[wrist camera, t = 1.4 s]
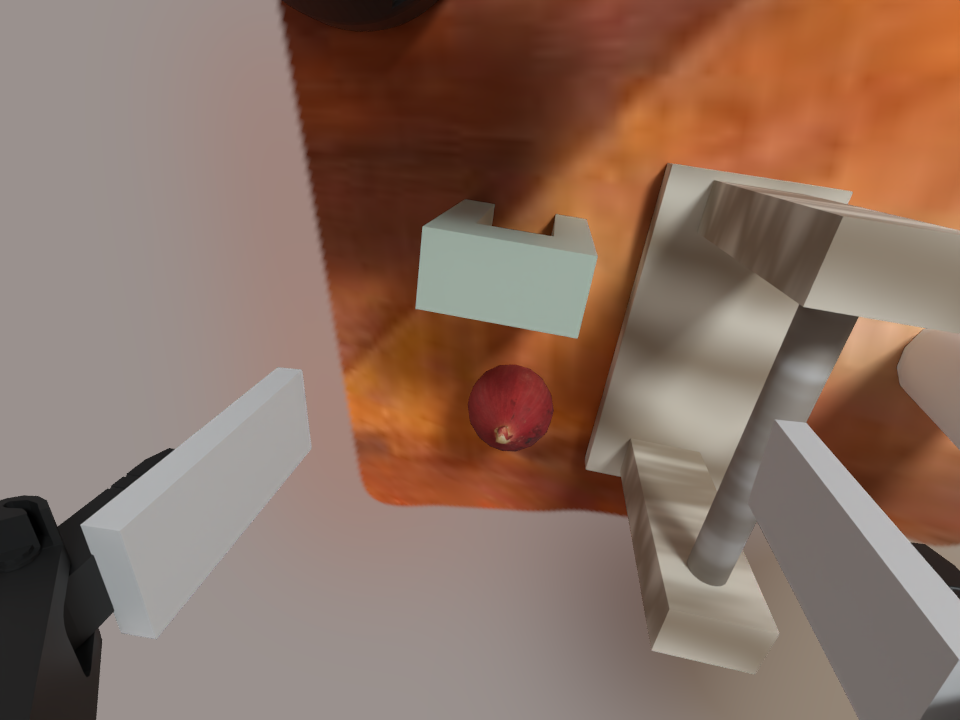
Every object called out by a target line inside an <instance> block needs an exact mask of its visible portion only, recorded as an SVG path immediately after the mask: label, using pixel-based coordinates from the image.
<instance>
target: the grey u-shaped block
mask: <svg viewBox="0 0 960 720" xmlns="http://www.w3.org/2000/svg"><path fill="white" fill-rule="evenodd" d="M494 208H495V204H491V203H485V202H479V201H473V200H467V199H465V200H463V201H462V202H460V203H458V204H457V205H455V206H454V207H452V208H451V209H449V210H447V211H446V212H444V213H443V214H441V215H440V216H438V217H437V218H435V219H433V220H432V221H430V222H429V223H427V224H426V225H424V226H423V227H422V239H421V250H420V262H419V274H418V285H417V297H416V308H415V309H420V310H425V311H430V312H436V313H441V314H447V315H452V316H458V317H463V318H468V319H474V320H479V321H485V322H490V323H496V324H501V325H506V326H512V327H517V328H523V329H528V330H533V331H539V332H544V333H550V334H555V335H561V336H566V337H571V338H577V339H578V335H579V331H580V327H581V323H582V319H583V315H584V311H585V306H586V302H587V298H588V294H589V290H590V286H591V282H592V277H593V273H594V269H595V265H596V261H597V257H598V256H597V253H596V249H595V246H594V243H593V239H592V236H591V233H590V229H589V226H588V223H587V219H582V218H576V217H570V216H564V215H558V214H556V215H555V220H554V225H553V230H552V235H551V236H548V235H542V234H536V233H530V232H524V231H518V230H512V229H506V228H500V227H495V226H492V222H493V215H494Z"/></svg>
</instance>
